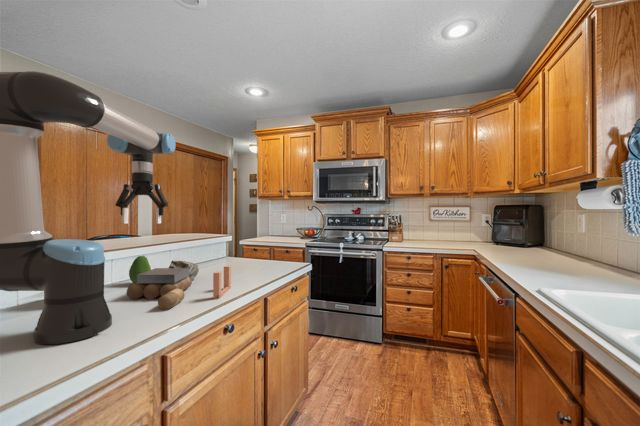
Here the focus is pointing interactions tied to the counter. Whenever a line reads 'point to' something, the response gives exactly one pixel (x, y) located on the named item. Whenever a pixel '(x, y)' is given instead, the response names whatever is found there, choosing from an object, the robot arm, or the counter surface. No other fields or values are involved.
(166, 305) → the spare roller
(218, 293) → the wooden u-shaped block
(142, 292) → the brown bread rolls
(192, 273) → the rock
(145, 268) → the fruit
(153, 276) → the slab
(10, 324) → the counter surface
